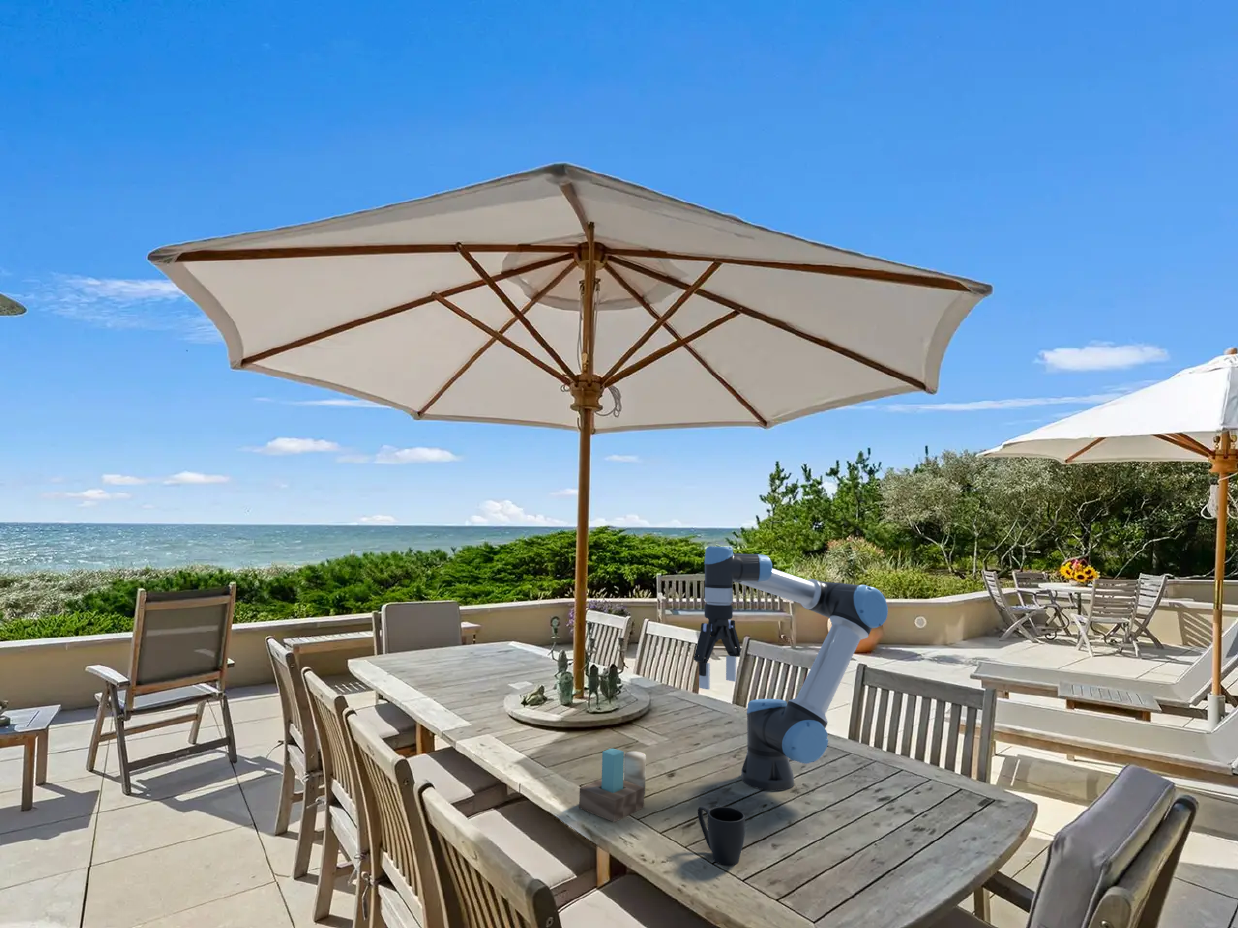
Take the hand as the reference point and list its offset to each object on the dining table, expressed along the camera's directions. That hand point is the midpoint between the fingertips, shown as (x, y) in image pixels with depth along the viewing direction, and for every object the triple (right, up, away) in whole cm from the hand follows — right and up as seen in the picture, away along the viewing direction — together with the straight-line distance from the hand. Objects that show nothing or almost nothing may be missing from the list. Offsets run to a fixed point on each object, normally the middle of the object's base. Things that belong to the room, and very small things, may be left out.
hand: (718, 684), depth 170 cm
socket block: (-28, -31, -4) cm, 42 cm away
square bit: (-28, -31, -4) cm, 42 cm away
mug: (-4, -29, -28) cm, 40 cm away
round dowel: (-22, -32, +6) cm, 40 cm away
